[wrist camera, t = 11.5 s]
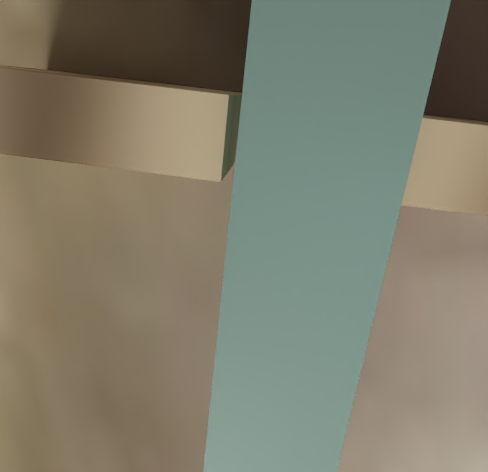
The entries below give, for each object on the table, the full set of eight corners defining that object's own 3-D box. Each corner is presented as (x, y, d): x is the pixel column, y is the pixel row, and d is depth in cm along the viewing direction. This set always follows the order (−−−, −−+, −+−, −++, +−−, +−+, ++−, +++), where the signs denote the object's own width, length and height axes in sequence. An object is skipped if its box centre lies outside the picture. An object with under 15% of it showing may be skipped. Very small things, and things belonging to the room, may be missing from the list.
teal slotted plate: (245, 284, 19) (198, 523, 8) (291, -92, 14) (314, -614, 4) (298, 291, 19) (319, 544, 8) (363, -85, 14) (597, -602, 4)
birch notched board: (48, 122, 17) (-99, 140, 10) (46, 69, 16) (-113, 54, 10) (551, 184, 16) (736, 248, 10) (570, 131, 15) (783, 160, 9)
